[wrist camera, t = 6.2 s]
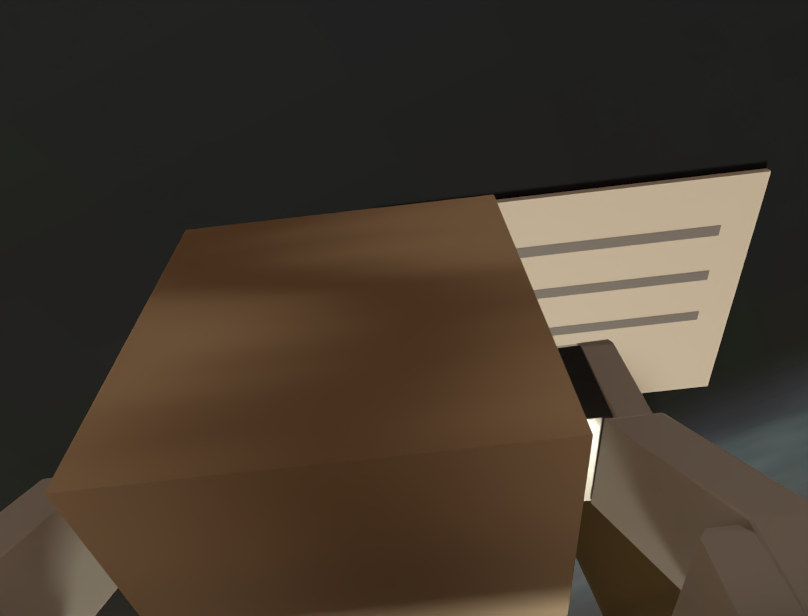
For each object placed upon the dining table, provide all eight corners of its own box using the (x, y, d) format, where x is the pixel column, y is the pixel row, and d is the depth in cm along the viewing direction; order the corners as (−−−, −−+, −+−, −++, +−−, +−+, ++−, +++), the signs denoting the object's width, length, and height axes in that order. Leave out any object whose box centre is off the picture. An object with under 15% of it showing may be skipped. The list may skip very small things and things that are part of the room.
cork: (666, 465, 34) (770, 665, 25) (607, 521, 38) (682, 716, 29) (582, 442, 33) (662, 647, 24) (528, 503, 36) (582, 704, 27)
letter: (405, 414, 31) (405, 419, 30) (376, 213, 23) (376, 217, 23) (704, 381, 30) (707, 386, 30) (766, 168, 23) (771, 171, 23)
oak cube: (262, 436, 12) (209, 705, 8) (185, 230, 9) (43, 493, 5) (495, 411, 12) (559, 671, 8) (493, 195, 9) (593, 434, 5)
